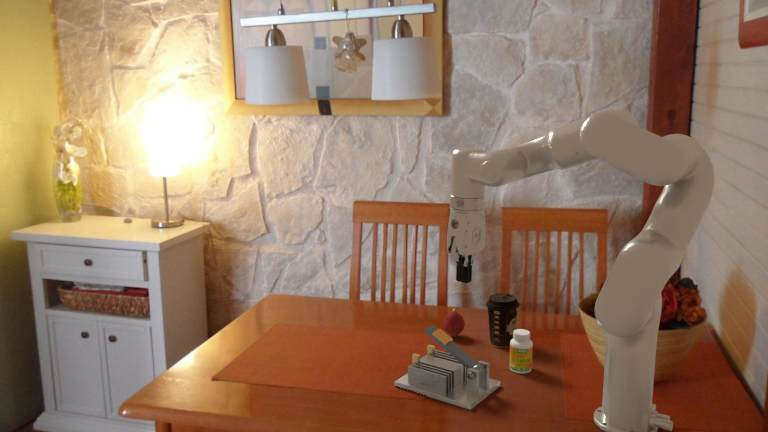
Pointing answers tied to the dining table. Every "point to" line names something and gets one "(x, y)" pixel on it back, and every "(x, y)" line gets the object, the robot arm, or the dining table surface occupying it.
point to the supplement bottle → (521, 352)
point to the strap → (454, 349)
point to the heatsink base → (447, 379)
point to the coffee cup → (502, 319)
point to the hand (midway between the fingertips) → (463, 281)
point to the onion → (454, 323)
